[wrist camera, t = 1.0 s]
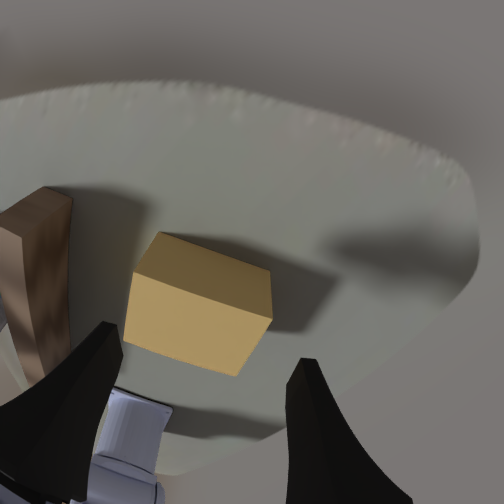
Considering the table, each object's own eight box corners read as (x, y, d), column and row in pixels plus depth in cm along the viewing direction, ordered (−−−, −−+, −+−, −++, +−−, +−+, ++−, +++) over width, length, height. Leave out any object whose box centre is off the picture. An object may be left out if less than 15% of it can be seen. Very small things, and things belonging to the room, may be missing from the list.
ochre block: (239, 326, 23) (235, 376, 19) (144, 294, 22) (123, 340, 17) (269, 269, 20) (272, 319, 16) (159, 230, 19) (133, 271, 15)
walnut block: (72, 359, 27) (52, 399, 22) (51, 348, 26) (29, 386, 21) (72, 198, 17) (21, 237, 12) (43, 186, 17) (-10, 221, 12)
